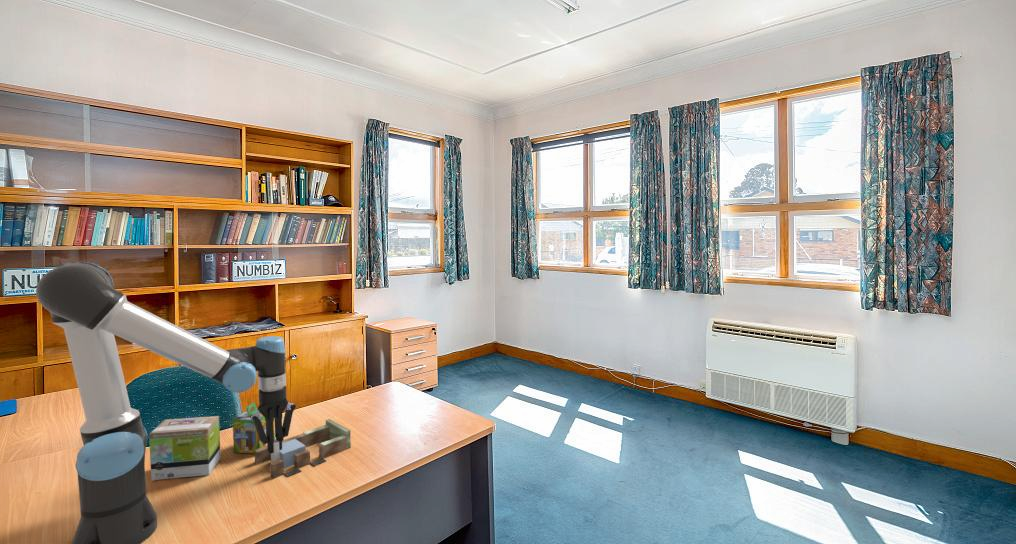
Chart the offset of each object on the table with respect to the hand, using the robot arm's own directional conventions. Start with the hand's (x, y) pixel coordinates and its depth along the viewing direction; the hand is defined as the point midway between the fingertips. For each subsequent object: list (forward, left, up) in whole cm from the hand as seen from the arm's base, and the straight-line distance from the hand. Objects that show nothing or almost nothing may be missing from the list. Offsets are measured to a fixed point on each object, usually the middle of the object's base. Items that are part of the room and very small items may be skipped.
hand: (275, 461), depth 139 cm
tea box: (-18, +17, -2) cm, 25 cm away
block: (+4, 0, -2) cm, 5 cm away
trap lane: (+9, -1, -1) cm, 9 cm away
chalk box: (+1, +17, -2) cm, 17 cm away
